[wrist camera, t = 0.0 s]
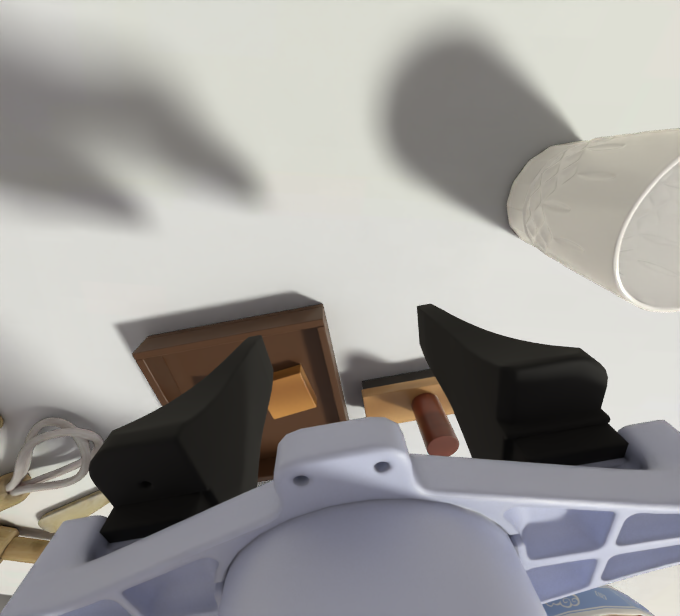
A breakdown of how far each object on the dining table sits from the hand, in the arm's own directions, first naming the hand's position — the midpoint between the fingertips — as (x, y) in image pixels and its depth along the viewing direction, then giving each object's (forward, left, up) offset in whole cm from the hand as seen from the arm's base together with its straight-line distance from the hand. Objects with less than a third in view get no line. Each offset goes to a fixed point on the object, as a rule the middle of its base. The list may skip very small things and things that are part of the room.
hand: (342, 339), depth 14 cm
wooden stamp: (-13, -5, -10) cm, 17 cm away
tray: (-11, +9, -10) cm, 17 cm away
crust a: (-10, +6, -10) cm, 15 cm away
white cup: (+2, -16, -10) cm, 19 cm away
